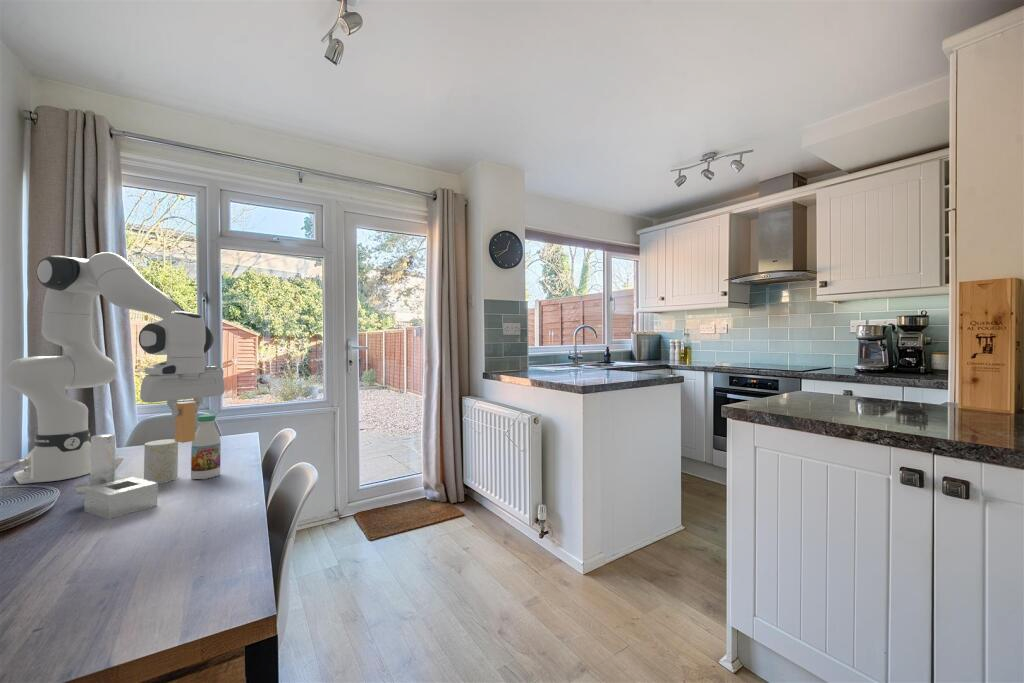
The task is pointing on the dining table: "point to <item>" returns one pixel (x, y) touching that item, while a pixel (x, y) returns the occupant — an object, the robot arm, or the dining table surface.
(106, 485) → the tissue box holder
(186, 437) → the tan wooden block
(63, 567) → the dining table surface
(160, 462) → the cup
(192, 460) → the milk bottle
